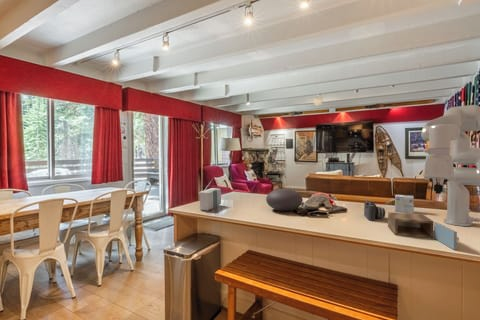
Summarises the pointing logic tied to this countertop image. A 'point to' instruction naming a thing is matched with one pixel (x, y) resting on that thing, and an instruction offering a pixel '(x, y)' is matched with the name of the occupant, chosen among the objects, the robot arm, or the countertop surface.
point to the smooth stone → (284, 199)
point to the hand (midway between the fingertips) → (438, 193)
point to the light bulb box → (404, 203)
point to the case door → (445, 235)
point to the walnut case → (410, 225)
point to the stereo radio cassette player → (210, 198)
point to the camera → (373, 211)
